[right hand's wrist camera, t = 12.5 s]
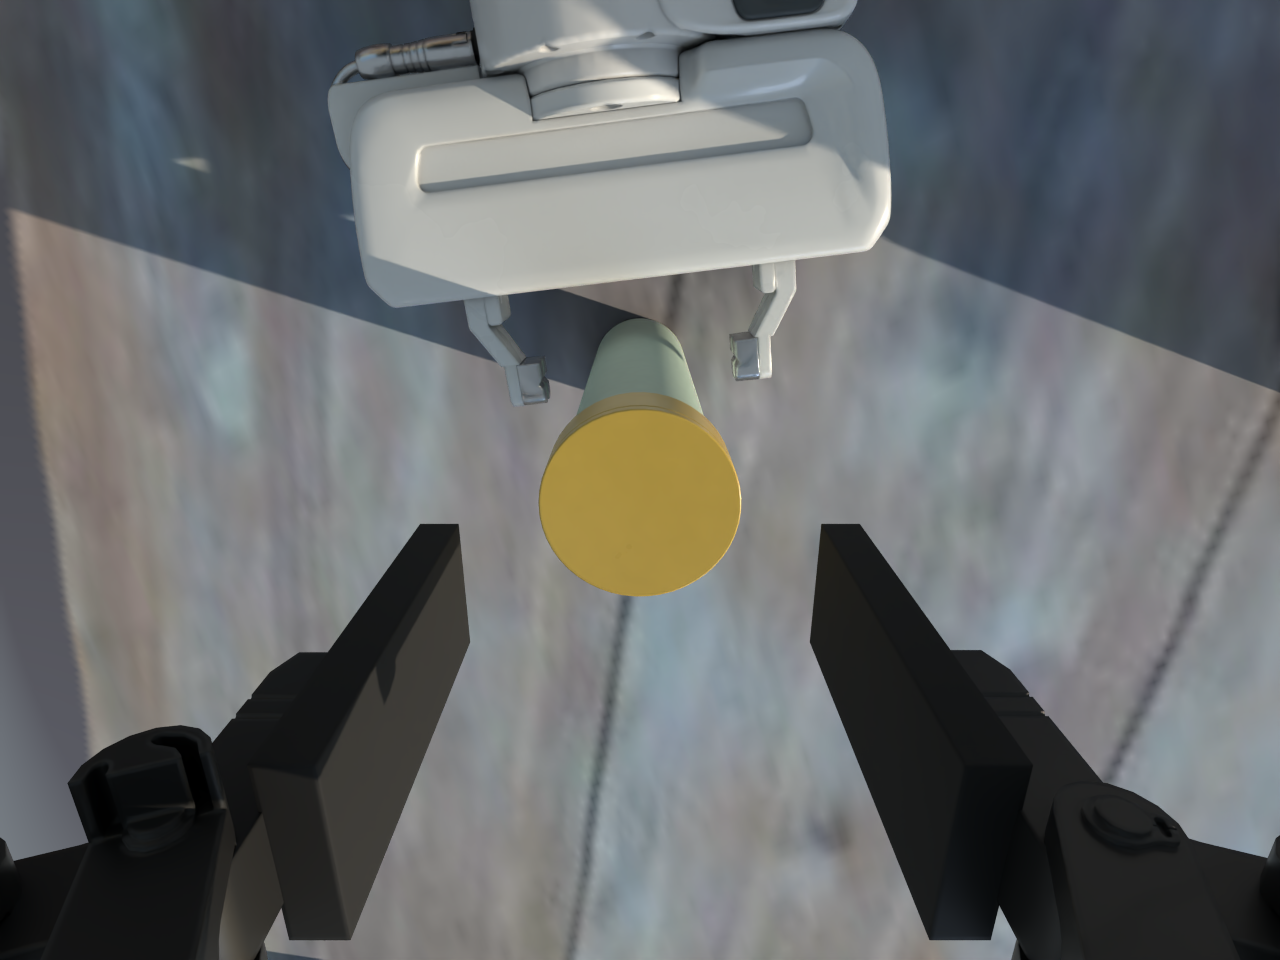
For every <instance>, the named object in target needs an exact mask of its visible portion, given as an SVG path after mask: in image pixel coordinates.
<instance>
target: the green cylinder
mask: <svg viewBox="0 0 1280 960" xmlns="http://www.w3.org/2000/svg"><path fill="white" fill-rule="evenodd" d="M630 392H648V393H657V394H661V395H666V396H669V397H672V398H675V399H677V400H680V401H682V402H684V403H686V404H688V405H689V406H691V407H693V408H694V409H696V410H697V411H698V412H700V413H701V414H702V415H703V412H702V409H701V406H700V403H699V400H698V397H697V394H696V391H695V387H694V384H693V381H692V378H691V375H690V372H689V369H688V366H687V363H686V360H685V357H684V353H683V350H682V347H681V345H680V343H679V341H678V339H677V338H676V336H675V335H674V334H673V333H672V332H671V331H670V330H669V329H668V328H667V327H666V326H664V325H662V324H661V323H659V322H656V321H654V320H650V319H643V318H636V319H630V320H627V321H624V322H621V323H619V324H618V325H616V326H614V327H613V328H612V329H611V330H610V331H609V332H608V333H607V334H606V335H605V336H604V338H603V339H602V341H601V343H600V345H599V348H598V350H597V353H596V357H595V360H594V363H593V366H592V369H591V372H590V375H589V378H588V381H587V384H586V387H585V391H584V394H583V397H582V400H581V403H580V406H579V409H578V412H577V415H578V414H579V413H580V412H582V411H583V410H584V409H586V408H587V407H589V406H591V405H592V404H594V403H596V402H598V401H600V400H603V399H605V398H608V397H611V396H615V395H618V394H624V393H630ZM577 415H576V416H577ZM703 416H704V415H703Z"/></svg>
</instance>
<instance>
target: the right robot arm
mask: <svg viewBox="0 0 1280 960" xmlns="http://www.w3.org/2000/svg"><path fill="white" fill-rule="evenodd" d="M469 644H470V636H469V626H468V616H467V605H466V595H465V585H464V575H463V564H462V554H461V544H460V534H459V524H420V525H419V526H418V528H417V529H416V531H415V532H414V533H413V535H412V536H411V538H410V539H409V540H408V542H407V543H406V545H405V546H404V547H403V549H402V550H401V551H400V553H399V554H398V556H397V557H396V558H395V560H394V561H393V563H392V564H391V565H390V567H389V568H388V570H387V571H386V572H385V574H384V575H383V576H382V578H381V579H380V581H379V582H378V583H377V585H376V586H375V588H374V589H373V590H372V592H371V593H370V595H369V596H368V597H367V599H366V600H365V601H364V603H363V604H362V606H361V607H360V608H359V610H358V611H357V613H356V614H355V615H354V617H353V618H352V620H351V621H350V622H349V624H348V625H347V626H346V628H345V629H344V631H343V632H342V633H341V635H340V636H339V638H338V639H337V640H336V642H335V643H334V645H333V646H332V647H331V649H330V650H329V651H328V652H299V653H298V654H296V655H295V656H293V657H292V658H290V659H289V660H287V661H286V662H284V663H283V664H281V665H280V666H278V667H277V668H275V669H274V670H272V671H271V672H270V673H269V674H268V675H267V677H266V678H265V679H264V680H263V682H262V683H261V684H260V685H259V686H258V688H257V689H256V690H255V691H254V693H253V694H252V698H251V699H248V700H247V701H246V702H245V704H244V705H243V706H242V707H241V708H240V710H239V711H238V712H237V713H236V718H235V719H232V720H231V721H230V722H229V723H228V724H227V726H226V727H225V728H224V729H223V731H222V732H221V733H220V734H219V735H218V737H217V738H216V739H215V740H214V742H213V743H212V741H211V738H210V737H209V736H208V735H207V734H206V733H204V732H203V731H202V730H201V729H199V728H194V727H188V726H182V725H178V726H169V727H160V728H154V729H151V730H148V731H144V732H141V733H138V734H135V735H131V736H129V737H127V738H125V739H123V740H121V741H119V742H117V743H115V744H113V745H111V746H109V747H107V748H105V749H103V750H101V751H100V752H99V753H97V754H96V755H95V756H93V757H92V758H91V759H89V760H88V761H87V762H85V763H84V764H83V765H81V767H80V768H79V769H78V771H77V772H76V773H75V774H74V776H73V777H72V778H71V779H70V781H69V782H68V786H69V789H70V792H71V794H72V797H73V800H74V803H75V806H76V808H77V811H78V814H79V817H80V819H81V822H82V825H83V828H84V831H85V833H86V836H87V839H88V842H89V843H85V844H82V845H79V846H75V847H70V848H66V849H62V850H58V851H53V852H49V853H45V854H41V855H37V856H33V857H28V858H24V859H20V860H16V861H13V859H12V856H11V854H10V852H9V849H8V847H7V844H6V842H5V841H4V840H3V839H1V838H0V960H268V958H267V952H266V948H265V944H264V940H265V938H266V936H267V934H268V932H269V930H270V928H271V927H272V925H273V923H274V921H275V919H276V917H277V915H278V913H279V911H280V909H281V908H282V912H283V916H284V920H285V924H286V928H287V932H288V936H289V940H351V937H352V935H353V932H354V930H355V927H356V925H357V922H358V920H359V917H360V915H361V912H362V910H363V908H364V905H365V903H366V900H367V898H368V895H369V893H370V890H371V888H372V885H373V883H374V880H375V878H376V875H377V873H378V870H379V868H380V865H381V863H382V860H383V858H384V855H385V853H386V850H387V848H388V845H389V843H390V840H391V838H392V835H393V833H394V830H395V828H396V825H397V823H398V820H399V818H400V815H401V813H402V810H403V808H404V805H405V803H406V800H407V798H408V795H409V793H410V790H411V788H412V785H413V783H414V781H415V778H416V776H417V773H418V771H419V768H420V766H421V763H422V761H423V758H424V756H425V753H426V751H427V748H428V746H429V743H430V741H431V738H432V736H433V733H434V731H435V728H436V726H437V723H438V721H439V718H440V716H441V713H442V711H443V708H444V706H445V703H446V701H447V698H448V696H449V693H450V691H451V688H452V686H453V683H454V681H455V678H456V676H457V673H458V671H459V668H460V666H461V663H462V661H463V658H464V656H465V653H466V651H467V649H468V646H469ZM810 644H811V646H812V649H813V651H814V653H815V656H816V658H817V661H818V663H819V666H820V668H821V671H822V673H823V676H824V678H825V681H826V683H827V686H828V688H829V691H830V693H831V696H832V698H833V701H834V703H835V706H836V708H837V711H838V713H839V716H840V718H841V721H842V723H843V726H844V728H845V731H846V733H847V736H848V738H849V741H850V743H851V746H852V748H853V751H854V753H855V756H856V758H857V761H858V763H859V766H860V768H861V771H862V773H863V776H864V778H865V781H866V783H867V785H868V788H869V790H870V793H871V795H872V798H873V800H874V803H875V805H876V808H877V810H878V813H879V815H880V818H881V820H882V823H883V825H884V828H885V830H886V833H887V835H888V838H889V840H890V843H891V845H892V848H893V850H894V853H895V855H896V858H897V860H898V863H899V865H900V868H901V870H902V873H903V875H904V878H905V880H906V883H907V885H908V888H909V890H910V893H911V895H912V898H913V900H914V903H915V905H916V908H917V910H918V913H919V915H920V917H921V920H922V922H923V925H924V927H925V930H926V932H927V935H928V937H929V940H991V936H992V932H993V928H994V924H995V920H996V916H997V912H998V908H999V906H1000V908H1001V909H1002V911H1003V913H1004V915H1005V917H1006V919H1007V921H1008V923H1009V925H1010V927H1011V929H1012V930H1013V932H1014V934H1015V936H1016V938H1017V940H1016V944H1015V948H1014V952H1013V955H1012V959H1011V960H1280V836H1278V837H1277V838H1276V839H1275V842H1274V844H1273V847H1272V849H1271V852H1270V854H1269V856H1268V858H1265V857H1261V856H1256V855H1252V854H1248V853H1244V852H1240V851H1235V850H1231V849H1227V848H1223V847H1219V846H1214V845H1210V844H1206V843H1202V842H1198V841H1195V840H1192V839H1189V838H1188V837H1187V836H1186V834H1185V833H1184V831H1183V830H1182V828H1181V827H1180V825H1179V824H1178V823H1177V822H1176V821H1175V820H1174V819H1172V818H1171V817H1170V816H1169V815H1168V814H1167V813H1165V812H1164V811H1163V810H1162V809H1161V808H1160V807H1158V806H1157V805H1155V804H1153V803H1152V802H1150V801H1148V800H1146V799H1144V798H1143V797H1141V796H1139V795H1137V794H1136V793H1134V792H1131V791H1128V790H1125V789H1123V788H1120V787H1117V786H1114V785H1111V784H1108V783H1103V782H1102V781H1101V780H1100V778H1099V777H1098V776H1097V775H1096V774H1095V772H1094V771H1093V770H1092V769H1091V767H1090V766H1089V765H1088V764H1087V763H1086V761H1085V760H1084V759H1083V758H1082V756H1081V755H1080V754H1079V753H1078V752H1077V750H1076V749H1075V748H1074V747H1073V746H1072V744H1071V743H1070V742H1069V741H1068V739H1067V738H1066V737H1065V736H1064V735H1063V733H1062V732H1061V731H1060V730H1059V728H1058V727H1057V726H1056V725H1055V724H1054V722H1053V721H1052V720H1051V719H1050V718H1049V716H1045V714H1044V710H1043V709H1042V708H1041V707H1040V705H1039V704H1038V703H1037V702H1036V700H1035V699H1034V698H1033V697H1029V692H1028V691H1027V690H1026V688H1025V687H1024V686H1023V685H1022V683H1021V682H1020V681H1019V680H1018V679H1017V677H1016V676H1015V675H1014V674H1013V672H1012V671H1011V670H1010V669H1008V668H1007V667H1005V666H1004V665H1002V664H1001V663H1000V662H998V661H997V660H995V659H994V658H992V657H991V656H989V655H988V654H986V653H985V652H983V651H982V650H950V649H949V647H948V646H947V645H946V643H945V642H944V640H943V639H942V638H941V636H940V635H939V633H938V632H937V631H936V629H935V628H934V626H933V625H932V624H931V622H930V621H929V620H928V618H927V617H926V615H925V614H924V613H923V611H922V610H921V608H920V607H919V606H918V604H917V603H916V601H915V600H914V599H913V597H912V596H911V595H910V593H909V592H908V590H907V589H906V588H905V586H904V585H903V583H902V582H901V581H900V579H899V578H898V576H897V575H896V574H895V572H894V571H893V570H892V568H891V567H890V565H889V564H888V563H887V561H886V560H885V558H884V557H883V556H882V554H881V553H880V551H879V550H878V549H877V547H876V546H875V545H874V543H873V542H872V540H871V539H870V538H869V536H868V535H867V533H866V532H865V531H864V529H863V528H862V526H861V525H860V524H821V534H820V544H819V554H818V564H817V575H816V585H815V595H814V605H813V616H812V626H811V636H810Z"/></svg>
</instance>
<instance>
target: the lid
mask: <svg viewBox="0 0 1280 960" xmlns="http://www.w3.org/2000/svg"><path fill="white" fill-rule="evenodd" d="M740 514H741V492H740V485H739V481H738V477H737V474H736V471H735V468H734V466H733V463H732V461H731V458H730V455H729V453H728V450H727V448H726V445H725V443H724V441H723V439H722V438H721V436H720V434H719V433H718V431H717V430H716V429H715V427H714V426H713V425H712V424H711V422H710V421H709V420H708V419H706V418H705V417H704V416H703V415H702V414H701V413H700V412H698V411H697V410H696V409H694V408H693V407H691V406H689V405H688V404H686V403H684V402H682V401H680V400H677V399H675V398H672V397H669V396H666V395H661V394H657V393H648V392H630V393H624V394H618V395H615V396H611V397H608V398H605V399H603V400H600V401H598V402H596V403H594V404H592V405H591V406H589V407H587V408H586V409H584V410H583V411H582V412H580V413H579V414H578V415H577V416H575V417H574V418H573V419H572V420H571V422H570V423H569V424H568V425H567V426H566V427H565V429H564V430H563V431H562V433H561V434H560V436H559V437H558V439H557V441H556V443H555V445H554V447H553V450H552V453H551V455H550V458H549V461H548V463H547V466H546V469H545V471H544V474H543V477H542V481H541V485H540V490H539V515H540V520H541V524H542V528H543V531H544V533H545V536H546V539H547V541H548V542H549V544H550V546H551V548H552V550H553V551H554V553H555V554H556V555H557V557H558V558H559V559H560V561H561V562H562V563H563V564H564V565H565V566H566V567H567V568H568V569H569V570H570V571H572V572H573V573H574V574H575V575H576V576H578V577H579V578H581V579H582V580H584V581H586V582H587V583H589V584H591V585H593V586H595V587H597V588H599V589H602V590H605V591H608V592H611V593H616V594H621V595H627V596H653V595H660V594H664V593H668V592H672V591H675V590H678V589H680V588H683V587H685V586H687V585H689V584H691V583H693V582H695V581H696V580H698V579H699V578H701V577H702V576H703V575H705V574H706V573H707V572H708V571H709V570H711V569H712V568H713V567H714V566H715V565H716V564H717V563H718V561H719V560H720V559H721V558H722V557H723V556H724V554H725V552H726V551H727V549H728V548H729V546H730V544H731V542H732V540H733V538H734V536H735V534H736V531H737V527H738V524H739V519H740Z"/></svg>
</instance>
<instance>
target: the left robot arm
mask: <svg viewBox="0 0 1280 960" xmlns="http://www.w3.org/2000/svg"><path fill="white" fill-rule="evenodd" d="M469 1H470V6H471V13H472V19H473V21H474V28H473V30H472V31H469V32H466V31H465V32H458V33H455V34H448V35H441V36H434V37H429V38H425V40H424V39H422V40H419V41H418V42H417V41H415V42H411V43H406V44H404V45H403V44H400V45H393V46H392V44H388V43H383V44H375V45H370V46H367V47H364V48H361V49H359V50H357V51H356V53H355V61H352V62H350V63H349V64H347V65H345V66H344V67H343V68H342V69H341V70H340V71H339V72H338V73H337V75H336V76H335V78H334V80H333V82H332V84H331V87H330V89H329V92H328V110H329V114H330V118H331V123H332V127H333V131H334V135H335V139H336V143H337V147H338V150H339V152H340V155H341V157H342V159H343V161H344V163H345V164H346V166H347V167H348V168H349V169H350V176H351V189H352V200H353V210H354V219H355V226H356V233H357V239H358V246H359V251H360V257H361V262H362V267H363V272H364V276H365V279H366V282H367V284H368V286H369V287H370V289H371V290H372V291H374V292H375V293H376V294H377V295H378V296H379V297H380V298H381V299H382V300H383V301H384V302H386V303H387V304H388V305H389V306H391V307H394V308H400V307H409V306H417V305H425V304H433V303H442V302H450V301H458V300H463V301H464V306H465V311H466V316H467V321H468V326H469V329H470V331H471V332H472V333H473V334H474V335H475V337H476V338H477V339H478V340H479V341H480V342H481V344H482V345H483V346H484V347H485V348H486V350H487V351H488V352H489V353H490V354H491V356H492V357H493V358H494V359H495V360H496V361H497V363H498V364H499V365H500V366H501V367H504V368H505V373H506V379H507V384H508V389H509V395H510V400H511V403H512V405H513V406H514V407H515V406H525V405H532V404H540V403H547V402H548V399H549V398H550V385H549V380H548V379H547V378H546V377H545V374H546V372H547V367H546V361H545V356H537V357H526V356H525V354H524V353H523V352H522V350H521V349H520V348H519V347H518V345H517V344H516V343H515V341H514V340H513V339H512V337H511V336H510V335H509V334H508V332H507V331H506V330H505V328H504V327H503V326H502V323H503V322H504V321H506V320H507V319H508V318H509V317H510V316H511V310H510V304H509V298H508V294H516V293H524V292H533V291H541V290H549V289H558V288H566V287H574V286H582V285H591V284H599V283H607V282H616V281H624V280H632V279H640V278H649V277H657V276H665V275H674V274H682V273H690V272H698V271H707V270H715V269H723V268H732V267H740V266H748V265H752V275H753V286H754V287H755V288H756V289H758V290H759V291H761V292H763V293H765V295H764V297H763V299H762V301H761V303H760V305H759V308H758V310H757V312H756V314H755V316H754V318H753V321H752V323H751V325H750V327H749V329H748V331H749V332H742V333H735V334H729V336H730V349H731V351H732V352H733V354H734V356H733V357H732V359H731V364H732V373H733V377H734V378H735V380H736V381H744V380H754V379H762V378H771V373H772V364H771V345H770V336H773V335H774V333H775V331H776V329H777V327H778V325H779V323H780V321H781V319H782V317H783V315H784V313H785V311H786V309H787V307H788V305H789V303H790V302H791V300H792V298H793V296H794V294H795V292H796V272H795V260H798V259H806V258H814V257H823V256H831V255H839V254H847V253H855V252H863V251H867V250H869V249H871V248H872V246H873V245H874V244H875V243H876V241H877V240H878V238H879V237H880V236H881V234H882V233H883V231H884V229H885V228H886V226H887V225H888V222H889V219H890V214H891V172H890V155H889V143H888V132H887V122H886V115H885V107H884V100H883V93H882V88H881V83H880V78H879V75H878V71H877V69H876V66H875V63H874V61H873V59H872V57H871V55H870V54H869V52H868V50H867V49H866V48H865V46H864V45H863V44H862V43H861V42H860V41H859V40H857V39H856V38H855V37H853V36H852V35H850V34H848V33H846V32H843V31H840V29H841V28H842V27H843V25H844V24H845V23H846V21H847V20H848V19H849V17H850V16H851V14H852V12H853V10H854V8H855V6H856V4H857V1H858V0H469ZM480 65H481V68H480ZM358 73H359V74H360V76H361V77H362V78H363V79H365V80H366V81H358V82H351V83H347V82H348V81H349V80H350V79H351V78H352V77H353V76H354V75H356V74H358ZM410 73H411V74H410ZM413 73H417V74H413ZM407 74H410V75H407ZM400 75H403V76H400ZM483 77H484V78H483ZM525 357H526V358H525Z"/></svg>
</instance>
